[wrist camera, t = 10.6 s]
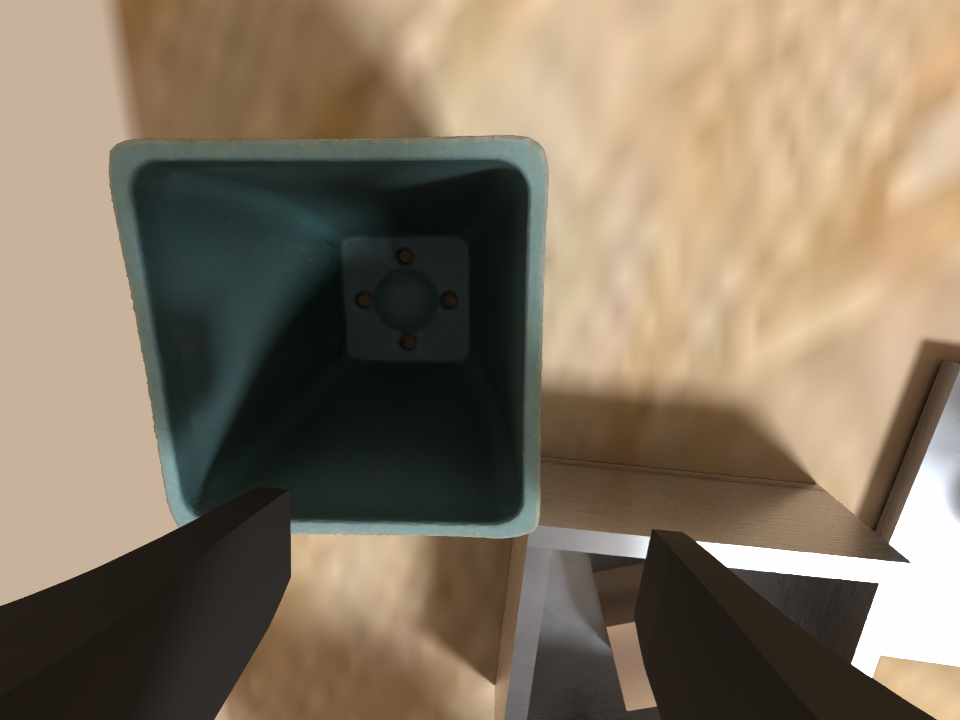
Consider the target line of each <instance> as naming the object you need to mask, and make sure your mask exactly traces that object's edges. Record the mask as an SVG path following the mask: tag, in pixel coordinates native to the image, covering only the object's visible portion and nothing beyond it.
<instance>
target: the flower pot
mask: <svg viewBox="0 0 960 720" xmlns="http://www.w3.org/2000/svg"><path fill="white" fill-rule="evenodd" d="M109 178H110V189H111V195H112V202H113V208H114V212H115V216H116V223H117V228H118V231H119V240H120V243H121V247H122V253H123V258H124V261H125V268H126V272H127V277H128V280H129V285H130V290H131V298H132V300H133V309H134V311H135V315H136V322H137V328H138V334H139V339H140V343H141V351H142V354H143V361H144V363H145V370H146V376H147V380H148V381H147V384H148V391H149V396H150V400H151V407H152V413H153V421H154V432H155V434H156V439H157V442H158V452H159V457H160V462H161V469H162V477H163V481H164V487H165V492H166V496H167V503H168V505H169V508H170V511H171V514H172V516H173V518H174V520H175V522H176V524H177V526H178V527H179V528H180V527H182V526H184V525H186V524H187V523H189V522H191V521H193V520H195V519H197V518H199V517H201V516H203V515H205V514H207V513H208V512H210V511H212V510H214V509H216V508H218V507H220V506H222V505H224V504H225V503H227V502H229V501H231V500H233V499H235V498H237V497H239V496H241V495H243V494H245V493H247V492H249V491H251V490H253V489H256V488H258V487H270V488H279V489H288V490H290V499H291V534H334V535H336V534H342V535H408V536H410V535H415V536H417V535H425V536H451V537H452V536H462V537H477V538H478V537H486V538H511V537H518V536H522V535H525V534H528V533H531V532H533V531H534V530H535V528H536V527H537V525H538V522H539V517H540V498H541V497H540V456H541V451H540V448H541V445H540V443H541V432H540V426H541V420H540V418H541V378H542V377H541V372H542V338H543V296H544V268H545V239H546V220H547V207H548V183H549V176H548V163H547V157H546V154H545V151H544V148H543V147H542V146H541V145H540V144H539V143H538V142H536V141H535V140H533V139H531V138H529V137H523V136H514V135H492V136H457V137H401V138H354V139H338V138H336V139H321V138H318V139H151V138H149V139H134V140H127V141H123V142H121V143H119V144H117V145H116V146H114V147H113V149H112V150H111V151H110V162H109ZM405 250H406V251H408V252H410V253H411V255H412V260H411V262H410V263H409V264H402V263H401V262H400V261H399V259H398V255H399V253H400V252H401V251H405ZM362 293H366V294H368V295H369V296H370V297H371V305H370V306H368V307H362V306H360V305H359V303H358V297H359V295H360V294H362ZM449 293H450V294H453V295H454V296H455V298H456V304H455V305H454V306H453V307H447V306H446V305H445V304H444V303H443V298H444V296H445V295H446V294H449ZM406 335H410V336H413V338H414V339H415V345H414V346H413V347H412V348H406V347H405V346H404V345H403V344H402V339H403V337H404V336H406Z"/></svg>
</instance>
